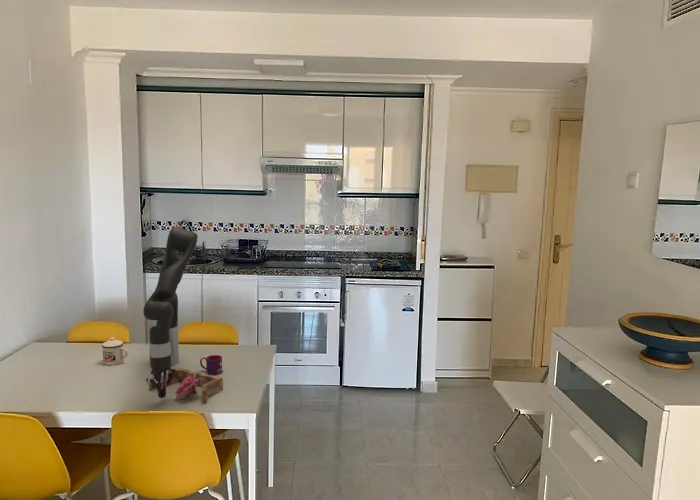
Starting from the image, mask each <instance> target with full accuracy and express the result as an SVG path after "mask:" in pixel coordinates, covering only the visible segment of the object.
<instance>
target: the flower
mask: <svg viewBox="0 0 700 500" xmlns="http://www.w3.org/2000/svg"><path fill="white" fill-rule="evenodd" d="M193 375H194V376H192V377H191V376H188V377H187V378H185V379H184V381H183V382H180V385H179V387H177V388H176V391H175V394H177V395H176V396H175V399H177V400H181V399H184V398H185V397H188V396H191V395H197V396H199V393H198V392H197V387H199V386H198V385H199V384H200V383H201V382H202V381H203V379H202V378H200V377H199V378H198V379H195V378H196V374H193Z"/></svg>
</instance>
